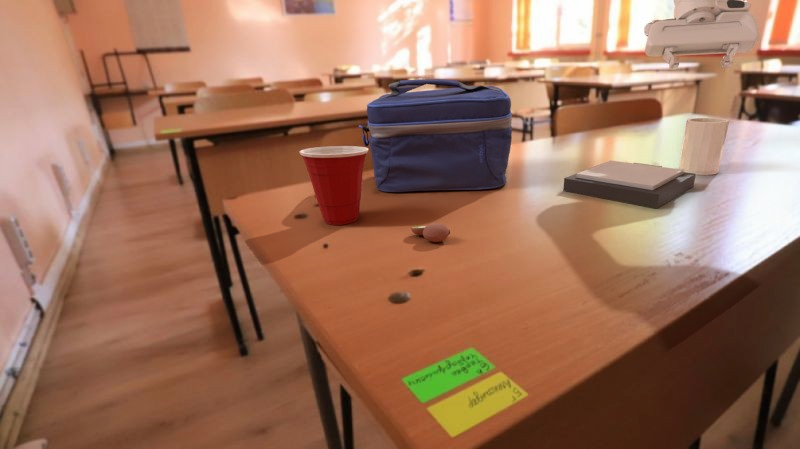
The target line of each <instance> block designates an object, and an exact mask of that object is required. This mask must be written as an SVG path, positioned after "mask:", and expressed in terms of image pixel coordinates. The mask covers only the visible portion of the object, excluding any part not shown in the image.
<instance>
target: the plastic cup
mask: <svg viewBox="0 0 800 449" xmlns="http://www.w3.org/2000/svg"><path fill="white" fill-rule="evenodd" d="M369 148H370V147H369ZM369 148H368V147H366V146H358V145H357V146H355V145H331V146H318V147H310V148H305V149H301V150H299V154H300V156H301V157H302V159H303V161H304V164H305V167H306V170H307V172H308V175H309V179H310V182H311V185H312V189H313V193H314V196H315V198H316V202H317V204H318V206H319V210H320V213H321V217H322V219H323V221H324V223H325V224H327V225H330V226H343V225H348V224H353V223H355V222H357V220H359V216H360V205H361V200H362V199H361V197H362V186H363V174H364V166H365V160H366V156H367V154H368V153H369Z"/></svg>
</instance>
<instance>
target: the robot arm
mask: <svg viewBox="0 0 800 449" xmlns="http://www.w3.org/2000/svg"><path fill="white" fill-rule="evenodd" d="M673 3H674V5H675V6H674V9H673V18H666V19H654V20H652V21H651V22H648V23H646V24H645V26H644V28H643V29H644V35H645V37H646V38H647V39H646V42H645V47H644V55H646V56H647V57H649V58H654V57H656V58H657V57H658V58H659V57H662V59H663V60H664V62H665V63H667V64H668V69H669V70H678V68H679V66H680V58H679V57H678V56H697V55H698V56H699V55H716V54H717V55H718V54H725V55H723V56H722V59H721V61H720V65H721V68H731V67H732V65H733V63H734V57H735V55H736V54H739V53H750V52H751V51H752V50H753V49H754V48H755V47H756V45H757V44H758V42H759V41H760V40H759V39H760V36H761V35H760V28H759V24H758V21H757V18H756V16H755V15H754V14H753V13H751V11H750V10H751V6H752V4H751V2H750V1H747V0H673Z"/></svg>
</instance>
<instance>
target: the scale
mask: <svg viewBox="0 0 800 449" xmlns="http://www.w3.org/2000/svg"><path fill="white" fill-rule="evenodd" d="M696 176H697V175H696V174H694V173H687V172H684V170H682V169H679V168H672V167H665V166H662V165H658V164H657V165H656V164H649V163H640V162H628V161H627V162H625V161H617V160H607V161H605V162H602V163H600V164H597V165H595V166H592V167H589V168H587V169H584V170H582V171H578V172H577V173H574V174H571V175H568V176H566V177H564V178H563V186H562V187H563V188H562V190H563V192H567V193H573V194H578V195H583V196H587V197H594V198H598V199H603V200H610V201H613V202H619V203H624V204H630V205H635V206H639V207H645V208H649V209H650V208H651V209H655V210H657V209H659V208H661V207H662V206H664V205H666V204H667V203H669V202H671V201H673V200H674V199H676V198H677V197H679V196H681V195H682V194H684V193H685V192H687V191H688V190H691V189H692V188H694V185H695V180H696Z"/></svg>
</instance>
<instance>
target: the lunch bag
mask: <svg viewBox="0 0 800 449" xmlns="http://www.w3.org/2000/svg"><path fill="white" fill-rule="evenodd" d="M425 85H430V86H431V85H432V86H443V87H450V88H440V89H427V90H418V91H412V90H415V89H417V88H421V87H422V86H425ZM388 88H389V89H390V91H391V92H390V93H385V94H382V95H381V96H379V97H378V98H376V99H373V100H372V101H370V102H369V103H367V104H366V115H367V119H368V120H367V123H366V124H365V125H361V124H359V125H358V128H359V129H361V131H362V136H361V137H362V142H363V145H364V147H368V146H369V148H370V153H371V154H370V155H371V161H372V168H373V176H374V180H375V187H376V189H377V190H379V191H381V192H384V193H405V192H417V191H418V192H420V191H423V192H424V191H476V190H478V191H479V190H490V189H491V190H492V189H497V188H501V187H502V186H505V185H507V181H508V180H507V176H506V173H507V169H508V167H509V158H510V154H511V146H512V139H513V137H512V134H513V127H512V120H513V118H512V116H513V113H512V110H511V109H512V101H511V97H510V95H509V94H508V93H507V92H505V91H504V90H503V89H502V88H500V87H498V86H495V85H494V86H493V85H482V84H481V85H466V84H464V83H463V82H460V81H458V80H454V79H444V78H443V79H441V78H425V79H424V78H423V79H421V78H419V79H405V80H401V79H400V80H399V81H395V82H392V83H389V84H388Z"/></svg>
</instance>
